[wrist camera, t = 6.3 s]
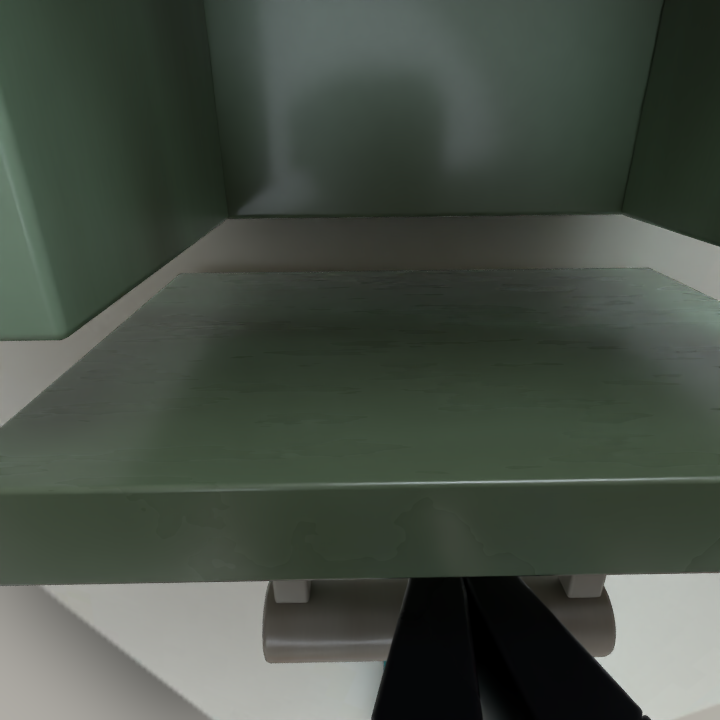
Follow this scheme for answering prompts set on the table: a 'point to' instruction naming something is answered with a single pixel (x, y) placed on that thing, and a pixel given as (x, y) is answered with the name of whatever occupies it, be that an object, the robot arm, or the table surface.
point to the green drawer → (358, 304)
